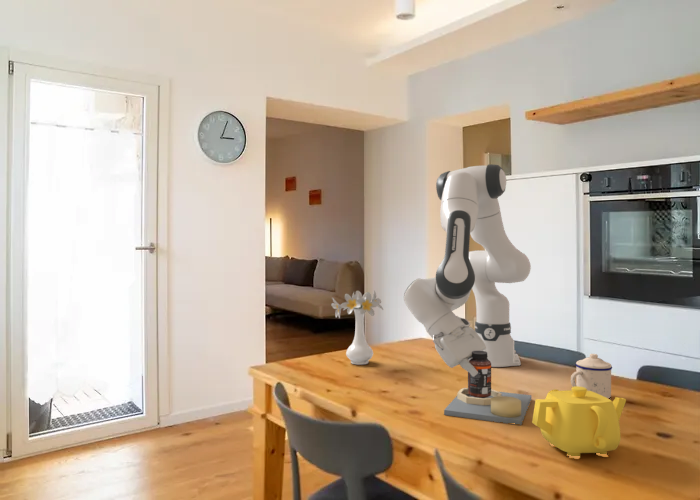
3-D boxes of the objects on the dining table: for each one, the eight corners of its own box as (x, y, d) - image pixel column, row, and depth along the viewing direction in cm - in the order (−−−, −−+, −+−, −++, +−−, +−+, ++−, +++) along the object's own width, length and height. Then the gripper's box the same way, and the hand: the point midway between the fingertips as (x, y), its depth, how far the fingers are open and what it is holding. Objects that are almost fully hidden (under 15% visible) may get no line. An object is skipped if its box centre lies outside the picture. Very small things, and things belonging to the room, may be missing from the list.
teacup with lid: (593, 390, 153) (594, 349, 153) (619, 399, 144) (620, 356, 144) (559, 394, 149) (559, 352, 149) (584, 404, 140) (584, 359, 140)
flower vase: (326, 362, 188) (326, 290, 187) (370, 357, 197) (371, 288, 197) (344, 370, 177) (344, 294, 176) (391, 364, 186) (391, 291, 185)
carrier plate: (464, 391, 152) (464, 376, 152) (531, 399, 144) (531, 384, 144) (444, 414, 132) (444, 397, 132) (521, 425, 124) (521, 407, 124)
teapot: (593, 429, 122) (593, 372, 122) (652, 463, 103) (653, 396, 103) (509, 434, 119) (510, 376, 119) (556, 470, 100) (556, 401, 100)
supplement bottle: (492, 399, 138) (491, 354, 137) (468, 397, 139) (467, 354, 138) (490, 392, 144) (490, 349, 143) (467, 391, 145) (467, 349, 144)
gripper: (438, 328, 136) (475, 372, 131) (469, 318, 153) (503, 357, 148) (422, 344, 139) (457, 388, 133) (454, 332, 156) (487, 371, 150)
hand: (481, 371), depth 141 cm, fingers closed on supplement bottle, 6 cm apart
